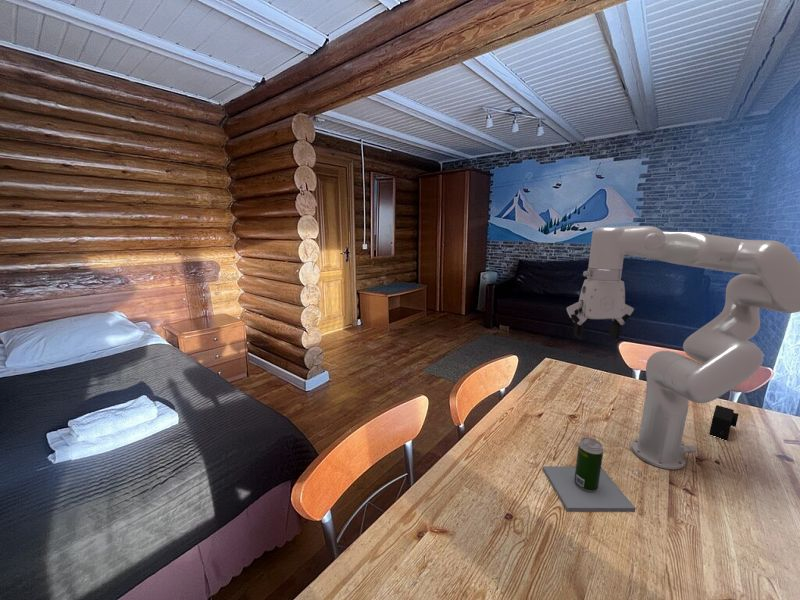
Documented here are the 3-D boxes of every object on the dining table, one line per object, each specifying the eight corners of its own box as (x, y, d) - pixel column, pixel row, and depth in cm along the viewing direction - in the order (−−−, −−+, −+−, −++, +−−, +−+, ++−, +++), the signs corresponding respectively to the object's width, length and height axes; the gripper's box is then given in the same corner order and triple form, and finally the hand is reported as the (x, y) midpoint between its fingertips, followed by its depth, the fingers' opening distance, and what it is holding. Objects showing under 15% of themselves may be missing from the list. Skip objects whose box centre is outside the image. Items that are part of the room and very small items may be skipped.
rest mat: (600, 469, 92) (600, 466, 91) (635, 511, 78) (635, 508, 78) (542, 469, 92) (542, 466, 91) (566, 511, 78) (567, 507, 78)
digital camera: (732, 443, 103) (737, 423, 101) (708, 435, 107) (713, 416, 105) (734, 430, 109) (739, 410, 108) (712, 423, 113) (716, 404, 112)
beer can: (591, 496, 81) (597, 453, 79) (569, 483, 85) (574, 441, 83) (602, 487, 84) (608, 445, 81) (580, 474, 88) (585, 434, 86)
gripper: (578, 277, 83) (571, 342, 86) (647, 277, 83) (637, 342, 86) (563, 273, 90) (558, 333, 94) (627, 273, 90) (619, 333, 94)
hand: (596, 337), depth 90 cm, fingers open, 9 cm apart
